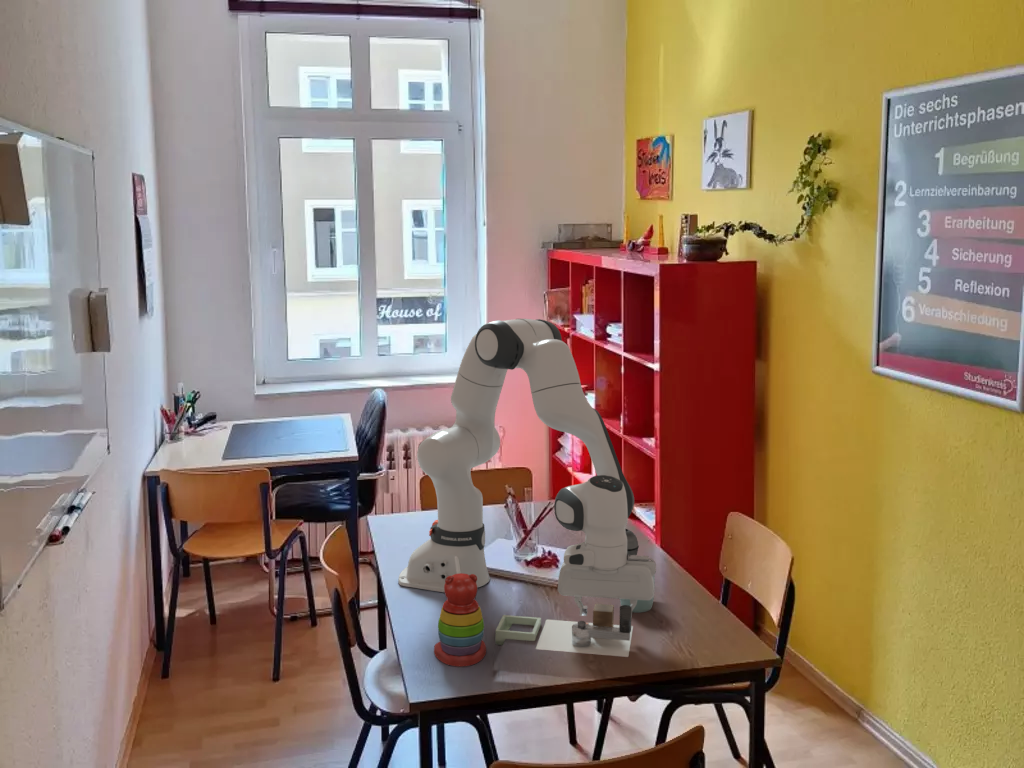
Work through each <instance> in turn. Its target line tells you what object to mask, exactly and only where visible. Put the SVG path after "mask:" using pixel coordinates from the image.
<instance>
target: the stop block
mask: <svg viewBox="0 0 1024 768" xmlns="http://www.w3.org/2000/svg"><path fill="white" fill-rule="evenodd" d="M614 609H615V605H614V604H606V603H594V607H593V611H592V623H593V626H606V627H613V625H614V620H615V619H614V614H615V610H614ZM601 639H603V638H601Z"/></svg>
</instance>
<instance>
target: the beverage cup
mask: <svg viewBox="0 0 1024 768" xmlns="http://www.w3.org/2000/svg"><path fill="white" fill-rule="evenodd" d="M626 536H627V554H628V555H636V556H638V551H639V546H640V545H639V541H638V538H637V536H636V534H635V533H634V532H633V531H632V530H631V529H628V528H626ZM627 561H628V559H627Z"/></svg>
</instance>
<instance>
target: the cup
mask: <svg viewBox="0 0 1024 768" xmlns="http://www.w3.org/2000/svg"><path fill="white" fill-rule="evenodd" d="M655 577H656V574H655V575H654V576H653V579H654V587H655V583H656V582H655V580H656V578H655ZM654 597H655V596H654ZM654 597H653V598H652V599H651V600H637V605H636V606H635V608H634V609H633V611H632V613H645V612H649V611H651V609H652V607H653V605H654ZM619 602H620V606H622V605H628V606H630V605H631V604H630V599H619Z"/></svg>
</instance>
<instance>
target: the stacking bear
mask: <svg viewBox="0 0 1024 768" xmlns="http://www.w3.org/2000/svg"><path fill="white" fill-rule="evenodd" d="M476 581H477V576H476V575H474V574H471V575H468V574H464V573H459V574H454V575H452V576H448V577H447V578H446V579H445V585H444V591H445V592H444V595H445V598H446V600H445V601H444V602H443V604H442V608H441V610H440V614H439V618H438V624H437V632H438V638H439V641H438V642H436V643H435V644H434V648H433V653H434V655H435V657H436V658H437V659H438V661H440V662H441V663H443V664H446V665H448V666H451V667H458V668H459V667H468V666H473V665H475V664H478V663H480V662H481V661H482V660H483V659H484V658H485V656H486V654H487V645H486V642H484V640H483V638H484V632H485V629H484V628H485V626H484V625H485V624H484V617H483V613H482V609H481V606H480V605H479V602H478V601H477V600H476V596H477V593H478V587H477V584H476Z"/></svg>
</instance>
